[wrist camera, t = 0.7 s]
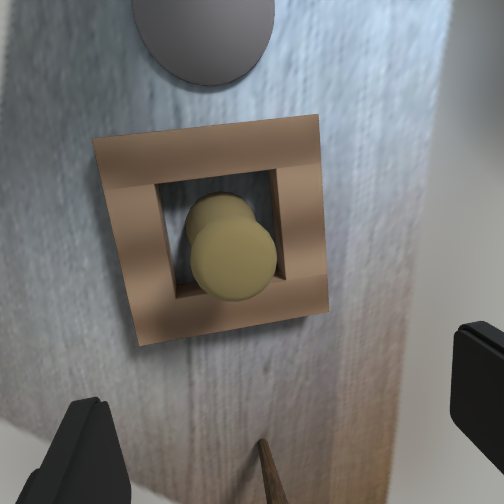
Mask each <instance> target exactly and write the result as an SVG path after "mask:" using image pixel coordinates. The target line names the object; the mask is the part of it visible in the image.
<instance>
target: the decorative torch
mask: <svg viewBox="0 0 504 504" xmlns="http://www.w3.org/2000/svg"><path fill="white" fill-rule="evenodd" d="M258 450H259V456H260V461H261V467H262V474H263V480H264V487H265V493H266V500H267V504H288V502H287V499H286V496H285V493H284V490H283V487H282V484H281V481H280V478H279V476H278V473H277V470H276V467H275V464H274V461H273V458H272V455H271V452H270V448H269V445H268V442H267V441H266V440H265V439H261V440H260V441H259V442H258Z"/></svg>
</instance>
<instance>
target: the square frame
mask: <svg viewBox="0 0 504 504" xmlns="http://www.w3.org/2000/svg"><path fill="white" fill-rule="evenodd" d="M92 143H93V147H94V151H95V156H96V160H97V164H98V169H99V173H100V178H101V182H102V186H103V191H104V195H105V199H106V204H107V208H108V212H109V217H110V221H111V226H112V230H113V234H114V239H115V243H116V247H117V252H118V256H119V260H120V265H121V269H122V274H123V278H124V282H125V287H126V291H127V295H128V300H129V304H130V308H131V313H132V317H133V322H134V326H135V330H136V335H137V339H138V343H139V346H143V345H149V344H154V343H160V342H165V341H171V340H176V339H182V338H187V337H193V336H198V335H204V334H210V333H215V332H221V331H226V330H232V329H237V328H243V327H248V326H254V325H259V324H265V323H270V322H276V321H281V320H287V319H293V318H298V317H304V316H309V315H315V314H320V313H326V312H329V298H328V279H327V261H326V242H325V224H324V206H323V187H322V169H321V150H320V132H319V114H313V115H304V116H295V117H286V118H276V119H267V120H258V121H249V122H240V123H230V124H221V125H212V126H203V127H193V128H184V129H175V130H166V131H157V132H147V133H138V134H129V135H120V136H110V137H101V138H92ZM261 170H268V171H269V181H270V192H271V202H272V213H273V223H274V234H275V244H276V254H277V265H278V269H275V273H274V275H273V277H272V279H271V281H270V283H269V284H268V285H267V286H266V287H265V289H264V290H263V291H262V292H261V293H259V294H257V295H256V296H254V297H252V298H250V299H247V300H243V301H239V302H228V301H222V300H219V299H217V298H214V297H212V296H211V295H209V294H208V293H207V292H206V291H204V290H203V289H202V288H201V287H200V286H199V284H198V283H197V282H195V283H189V284H183V285H177V283H176V278H175V272H174V267H173V261H172V256H171V251H170V245H169V240H168V234H167V229H166V223H165V218H164V213H163V207H162V202H161V196H160V191H159V185H158V183H166V182H174V181H182V180H190V179H198V178H206V177H214V176H222V175H230V174H237V173H245V172H253V171H261Z"/></svg>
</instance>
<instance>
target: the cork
mask: <svg viewBox="0 0 504 504" xmlns="http://www.w3.org/2000/svg"><path fill="white" fill-rule="evenodd" d="M185 231H186V235H187V239H188V242H189V243H190V245H191V258H190V265H191V269H192V273H193V276H194V278H195V279H196V281H197V283H198V284H199V286H200V287H201V288H202V289H203V290H204V291H206V292H207V293H208V294H209V295H211V296H212V297H214V298H217V299H219V300H222V301H228V302H239V301H243V300H247V299H250V298H252V297H254V296H256V295H257V294H259V293H261V292H262V291H263V290H264V289H265V287H266V286H267V285H268V284H269V283H270V281H271V279H272V277H273V275H274V273H275V269H276V263H277V254H276V248H275V244H274V242H273V240H272V238H271V236H270V234H269V233H268V232H267V231H266V230H265V229H264V228H263V227H262V226H261V225H260V224H259V223H258V222H256V219H255V215H254V213H253V211H252V209H251V207H250V205H249V204H248V203H246V202H245V201H244V200H243V199H242V198H241V197H239V196H237V195H235V194H232V193H228V192H215V193H210V194H207V195H205V196H204V197H202V198H200V199H198V201H197V202H196V203H195V204H194V205H193V206H192V207H191V208H190V211H189V213H188V215H187V218H186V226H185Z"/></svg>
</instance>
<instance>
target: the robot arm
mask: <svg viewBox="0 0 504 504" xmlns="http://www.w3.org/2000/svg"><path fill="white" fill-rule="evenodd" d="M453 343H454V345H453V361H452V379H451V397H450V415H451V418H452V420H453V422H454V423H455V424H456V426H457V427H458V428H459V429H460V430H461V431H462V432H463V433H464V434H465V435H466V436H467V437H468V438H469V439H470V440H471V441H472V442H473V443H474V444H475V446H477V448H478V449H479V450H480V451H481V452H482V453H483V454H484V455H485V456H486V457H487V458H488V459H489V460H490V461H491V462H492V463H493V464H494V465H495V466H496V467H497V468H498V469H499V470H500V471H501V472H502V474H504V332H502V331H501V330H499V329H497V328H495V327H494V326H492V325H490V324H489V323H487V322H484V321H477V322H472V323H467V324H462V325H461V326H460V327H459V328H458V331H456V332H455V334H454V342H453ZM15 504H131V484H130V480H129V477H128V473H127V470H126V466H125V462H124V459H123V455H122V451H121V448H120V444H119V440H118V437H117V433H116V430H115V426H114V422H113V419H112V415H111V411H110V408H109V405H108V403H107V401H103V402H101V401H100V399H99V398H98V397H92V398H87V399H82V400H77V401H73V402H71V404H70V405H69V407H68V410H67V412H66V414H65V416H64V418H63V420H62V422H61V424H60V426H59V429H58V431H57V433H56V435H55V437H54V439H53V441H52V443H51V445H50V448H49V450H48V452H47V454H46V456H45V458H44V460H43V462H42V464H41V466H40V468H39V469H36V470H34V471H33V472H32V473H31V475H30V476H29V478H28V479H27V481H26V483H25V485H24V487H23V489H22V491H21V493H20V495H19V497H18V500H17V501H16V503H15Z"/></svg>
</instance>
